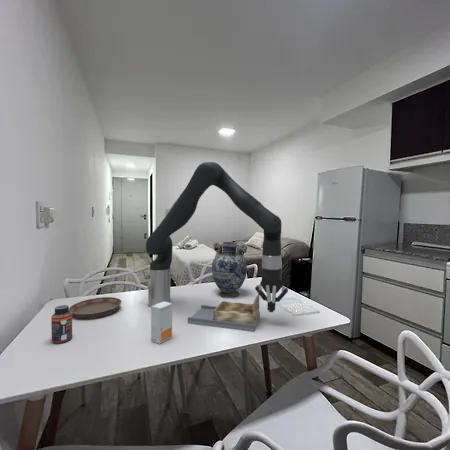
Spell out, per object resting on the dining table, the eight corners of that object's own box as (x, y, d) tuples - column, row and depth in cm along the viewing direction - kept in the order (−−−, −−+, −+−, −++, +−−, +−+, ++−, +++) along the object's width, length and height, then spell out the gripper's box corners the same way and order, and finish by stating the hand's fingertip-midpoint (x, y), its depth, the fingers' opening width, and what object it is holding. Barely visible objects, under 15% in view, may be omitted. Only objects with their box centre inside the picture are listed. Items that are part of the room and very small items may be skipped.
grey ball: (241, 321, 98) (241, 314, 98) (243, 318, 101) (243, 311, 101) (250, 322, 97) (250, 314, 97) (251, 319, 100) (251, 311, 100)
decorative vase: (202, 295, 137) (203, 242, 136) (222, 287, 152) (223, 240, 151) (236, 303, 125) (237, 245, 124) (254, 294, 140) (256, 242, 139)
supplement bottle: (69, 343, 85) (69, 309, 85) (48, 345, 84) (48, 310, 83) (74, 335, 91) (74, 303, 91) (55, 337, 89) (54, 304, 89)
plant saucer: (64, 324, 100) (64, 316, 100) (73, 307, 120) (73, 299, 120) (121, 317, 108) (121, 309, 108) (121, 301, 127) (121, 295, 127)
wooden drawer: (213, 321, 100) (213, 299, 99) (222, 310, 111) (222, 290, 111) (254, 326, 95) (254, 303, 95) (259, 314, 107) (259, 294, 107)
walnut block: (243, 316, 104) (243, 308, 103) (245, 312, 107) (245, 305, 107) (253, 317, 102) (253, 309, 102) (255, 313, 106) (255, 306, 106)
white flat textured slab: (294, 317, 108) (294, 313, 108) (271, 302, 127) (271, 298, 127) (320, 313, 113) (321, 309, 113) (294, 299, 132) (294, 296, 131)
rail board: (187, 323, 101) (187, 317, 101) (201, 309, 116) (201, 305, 115) (253, 331, 94) (253, 325, 94) (259, 316, 108) (259, 311, 108)
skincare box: (159, 344, 84) (159, 308, 84) (150, 341, 87) (150, 305, 86) (172, 337, 89) (172, 303, 89) (163, 334, 92) (163, 300, 91)
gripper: (252, 267, 97) (252, 313, 98) (289, 269, 93) (288, 317, 94) (256, 264, 104) (255, 306, 105) (289, 265, 100) (289, 309, 101)
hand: (271, 311), depth 99 cm, fingers closed
